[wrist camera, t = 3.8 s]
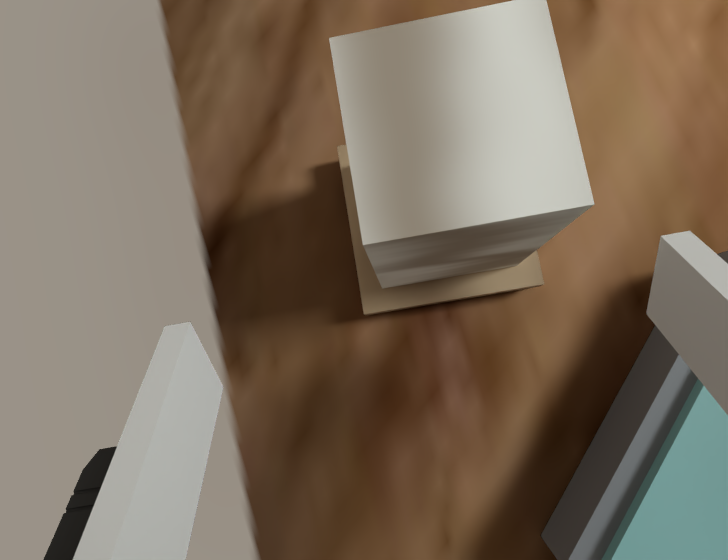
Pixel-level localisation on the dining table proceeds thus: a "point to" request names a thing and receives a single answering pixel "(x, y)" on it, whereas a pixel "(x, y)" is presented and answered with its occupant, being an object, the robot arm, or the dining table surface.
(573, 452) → the dining table surface
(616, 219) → the dining table surface
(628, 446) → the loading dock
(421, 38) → the pallet
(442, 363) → the dining table surface
